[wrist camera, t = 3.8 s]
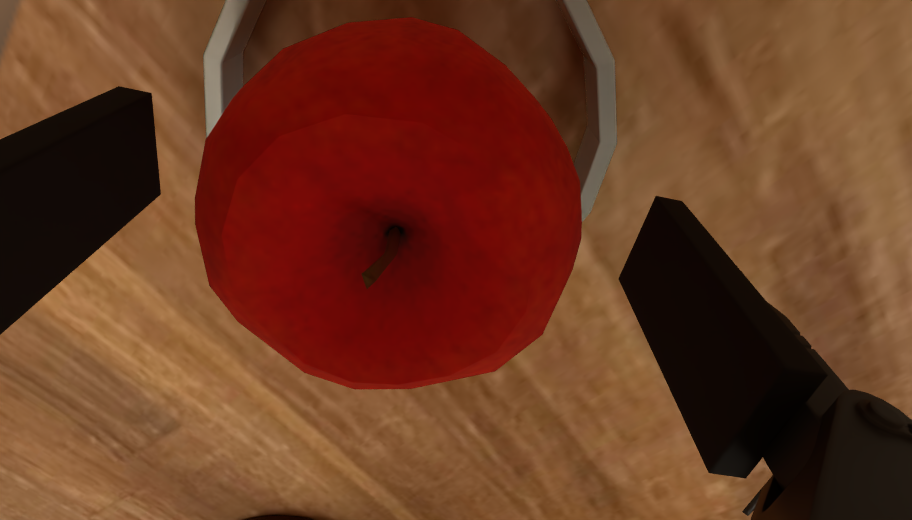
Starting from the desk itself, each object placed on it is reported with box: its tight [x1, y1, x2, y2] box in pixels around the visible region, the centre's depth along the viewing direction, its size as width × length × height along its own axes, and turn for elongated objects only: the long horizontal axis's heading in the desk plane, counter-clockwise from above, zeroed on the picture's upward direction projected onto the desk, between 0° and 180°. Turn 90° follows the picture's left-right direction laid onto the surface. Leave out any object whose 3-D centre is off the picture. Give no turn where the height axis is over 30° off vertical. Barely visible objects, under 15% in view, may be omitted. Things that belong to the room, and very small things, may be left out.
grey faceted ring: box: [203, 0, 617, 221], centre depth 19 cm, size 14×14×2 cm
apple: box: [195, 17, 582, 389], centre depth 15 cm, size 9×9×11 cm
